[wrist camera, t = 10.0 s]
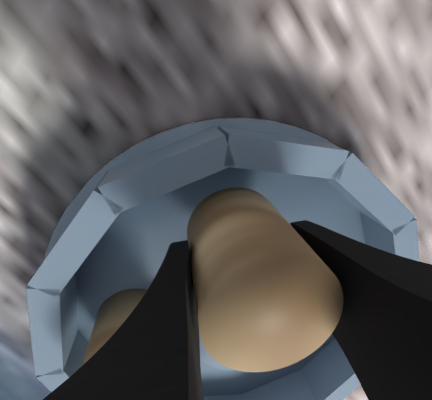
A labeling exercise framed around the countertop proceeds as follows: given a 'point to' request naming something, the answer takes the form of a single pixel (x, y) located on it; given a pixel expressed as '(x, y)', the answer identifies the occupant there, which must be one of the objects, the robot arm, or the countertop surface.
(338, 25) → the countertop surface
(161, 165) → the ring tray
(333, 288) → the bead
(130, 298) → the bead
